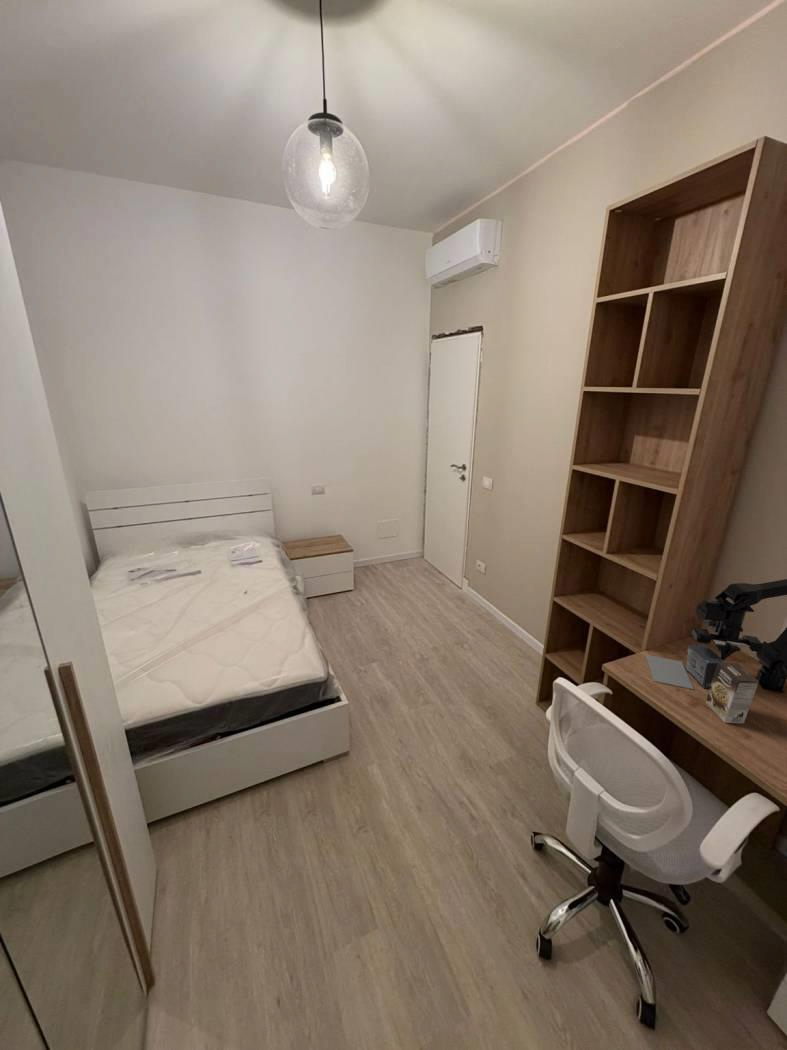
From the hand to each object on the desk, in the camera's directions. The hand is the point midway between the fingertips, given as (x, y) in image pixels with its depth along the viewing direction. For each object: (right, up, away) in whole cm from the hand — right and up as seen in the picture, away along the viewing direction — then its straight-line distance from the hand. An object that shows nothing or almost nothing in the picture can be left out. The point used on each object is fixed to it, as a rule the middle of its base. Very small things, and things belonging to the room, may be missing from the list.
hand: (720, 660), depth 145 cm
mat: (-13, -6, +8) cm, 17 cm away
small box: (-3, -8, +4) cm, 9 cm away
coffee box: (-7, -13, -11) cm, 19 cm away
